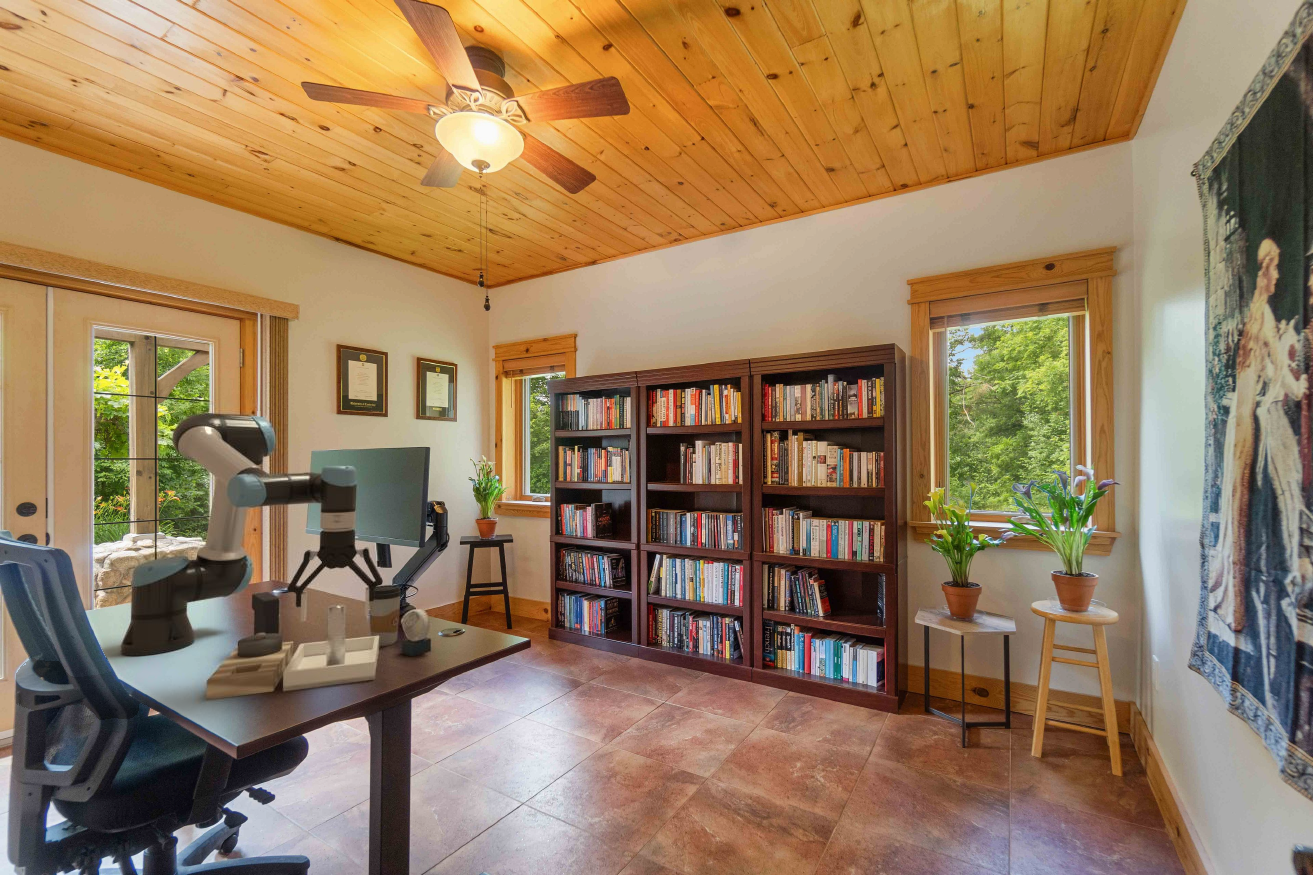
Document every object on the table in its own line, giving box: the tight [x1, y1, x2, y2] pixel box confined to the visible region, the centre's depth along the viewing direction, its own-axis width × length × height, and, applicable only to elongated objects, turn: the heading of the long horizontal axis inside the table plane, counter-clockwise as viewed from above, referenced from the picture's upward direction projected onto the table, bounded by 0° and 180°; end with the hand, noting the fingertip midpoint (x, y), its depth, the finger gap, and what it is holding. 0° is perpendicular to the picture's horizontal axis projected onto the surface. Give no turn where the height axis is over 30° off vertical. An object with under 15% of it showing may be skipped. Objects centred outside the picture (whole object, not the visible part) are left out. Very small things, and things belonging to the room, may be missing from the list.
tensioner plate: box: [205, 633, 294, 701], centre depth 138 cm, size 24×12×8 cm, turn 23°
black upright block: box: [251, 591, 282, 636], centre depth 154 cm, size 11×4×15 cm, turn 47°
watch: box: [400, 608, 432, 658], centre depth 155 cm, size 6×8×11 cm
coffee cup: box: [369, 584, 402, 647], centre depth 163 cm, size 8×8×15 cm
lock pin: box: [326, 603, 347, 666], centre depth 143 cm, size 4×4×14 cm
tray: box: [282, 635, 380, 692], centre depth 143 cm, size 22×18×4 cm
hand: (335, 617), depth 143 cm, fingers open, 13 cm apart
